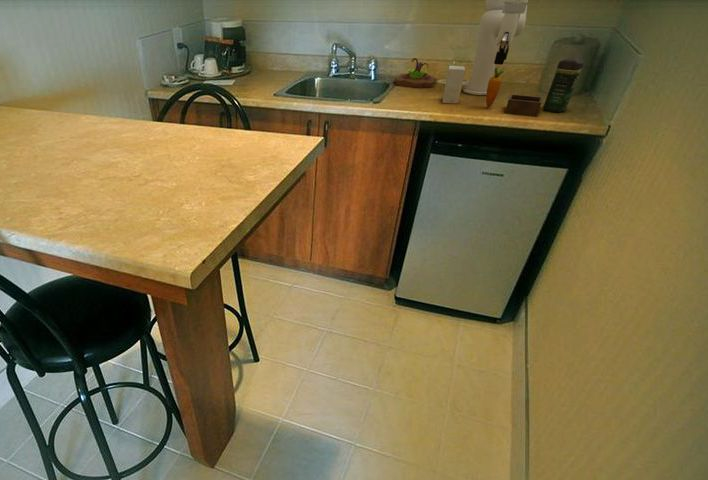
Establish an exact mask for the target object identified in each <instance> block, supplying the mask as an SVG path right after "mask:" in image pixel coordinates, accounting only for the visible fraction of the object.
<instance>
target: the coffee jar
mask: <svg viewBox="0 0 708 480" xmlns="http://www.w3.org/2000/svg"><path fill="white" fill-rule="evenodd" d="M584 63H585V61H584V60H583V58H581V57H576V56H569V57H567V58H564V59H561V60H560V61H558V64H557V66H556V70H555V73H554V76H553V79H552V80H551V81H552V82H551V85H550V87H549V90H548V93H547V95H546V97H545V101H544V104H543V106H542V108H543V110H545V111H547V112H551V113H554V112H559V113H561V112H564V111H566V110H567V108H568V106H569V103H570V100H571V98H572V94H573V93H574V90H575V88H576V84H577V82H578V80H579V76H580V74H581V72H582V69H583V66H584Z"/></svg>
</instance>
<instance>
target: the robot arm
mask: <svg viewBox="0 0 708 480" xmlns="http://www.w3.org/2000/svg"><path fill="white" fill-rule="evenodd" d="M528 3H529V0H485V8H486V10H487V11H486V12H485V13H483V14H482V16H481V17H480V20H479V27H478V38H477V44H476V49H475V54H474V58H473V63H472V67H471V71H470V75H469V79H468V80H466V81H464V80H463V83H462V87H464V88H463V92H464V93H466V94H469V95H475V96H486V92H487V87H488V82H489V79H490V78H491V77H494V75H495V68H496V67H497V66H496V65H499V66H502V65H504V62H505V61H506V60H507V58H508V54H509V50H510V45H512V42H513V39H514V38H516V37H519V36H521V34H522V33H523V31H524V29H525V26H526V20H527V11H528Z"/></svg>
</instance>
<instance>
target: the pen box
mask: <svg viewBox="0 0 708 480" xmlns="http://www.w3.org/2000/svg"><path fill="white" fill-rule="evenodd" d="M542 101H543V97H542V96H533V95H524V94H523V95H522V94H513V93H511V94H510V96H509V98H508V100H507V103H506V107H505V111H504V113H505V114H511V115H520V116H527V117H528V116H529V117H538V115H539V111H540V108H541V105H542Z"/></svg>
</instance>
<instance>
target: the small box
mask: <svg viewBox="0 0 708 480" xmlns="http://www.w3.org/2000/svg"><path fill="white" fill-rule="evenodd" d="M465 73H466V67H465V66H463V65H460V66H459V65H449V66H448V70H447V75H446V79H445V85H444V90H443V95H442V103H443V104H459V100H460V96H461V91H462V87H463V86H462V83H463V81H464V78H465Z"/></svg>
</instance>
